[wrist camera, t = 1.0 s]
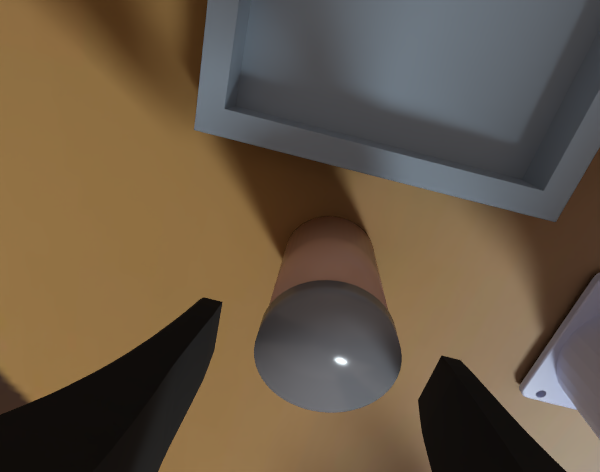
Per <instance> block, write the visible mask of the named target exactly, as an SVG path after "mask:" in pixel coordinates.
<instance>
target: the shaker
mask: <svg viewBox="0 0 600 472" xmlns="http://www.w3.org/2000/svg"><path fill="white" fill-rule="evenodd" d="M254 358H255V363H256V367H257V369H258V372H259V374H260V376H261V378H262V379H263V380H264V382H265V383H266V385H267V386H268V387H269V388H270V389H271V390H272V391H273V392H274V393H276V394H277V395H278V396H280V397H281V398H283V399H284V400H286V401H288V402H289V403H291V404H294V405H296V406H298V407H301V408H304V409H308V410H312V411H318V412H345V411H351V410H355V409H358V408H361V407H364V406H366V405H369V404H371V403H372V402H374V401H376V400H377V399H379V398H380V397H382V396H383V395H384V394H385V393H386V392H387V391H388V390H389V389H390V388H391V386H392V385H393V384H394V382H395V380H396V379H397V377H398V374H399V371H400V367H401V358H402V355H401V348H400V344H399V340H398V336H397V332H396V328H395V325H394V322H393V319H392V317H391V315H390V313H389V311H388V308H387V304H386V300H385V296H384V291H383V287H382V283H381V279H380V275H379V270H378V266H377V262H376V258H375V254H374V249H373V246H372V243H371V241H370V239H369V237H368V236H367V234H366V233H365V232H364V231H363V230H362V229H361V228H360V227H359V226H358V225H356V224H355V223H353V222H351V221H349V220H346V219H343V218H339V217H332V216H327V217H319V218H315V219H312V220H310V221H307V222H305V223H304V224H302V225H301V226H300V227H298V228H297V229H296V230H295V231H294V232H293V234H292V235H291V237H290V238H289V241H288V243H287V246H286V249H285V253H284V256H283V259H282V263H281V266H280V270H279V273H278V277H277V280H276V284H275V287H274V291H273V294H272V298H271V301H270V304H269V307H268V308H267V310H266V312H265V313H264V315H263V318H262V322H261V325H260V328H259V331H258V335H257V338H256V341H255V347H254Z"/></svg>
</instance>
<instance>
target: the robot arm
mask: <svg viewBox="0 0 600 472" xmlns="http://www.w3.org/2000/svg"><path fill="white" fill-rule="evenodd" d="M221 307H222V302H220V301H216V300H212V299H208V298H202V299H200V300H199V301H198V302H196V303H195V304H194V305H193V306H192V307H190V308H189V309H188V310H187V311H186V312H184V313H183V314H182V315H181V316H179V317H178V318H177V319H176V320H174V321H173V322H172V323H170V324H169V325H168V326H166V327H165V328H164V329H162V330H161V331H160V332H158V333H157V334H155V335H154V336H153V337H151V338H150V339H148V340H147V341H145V342H144V343H142V344H141V345H139V346H138V347H136V348H135V349H133V350H132V351H130V352H129V353H127V354H125V355H124V356H122V357H120V358H119V359H117V360H115V361H114V362H112V363H110V364H108V365H107V366H105V367H103V368H101V369H100V370H98V371H96V372H94V373H92V374H90V375H88V376H86V377H84V378H82V379H80V380H78V381H76V382H74V383H72V384H71V385H69V386H66V387H64V388H62V389H60V390H58V391H56V392H54V393H52V394H49V395H47V396H45V397H43V398H40V399H38V400H35V401H33V402H31V403H28V404H26V405H23V406H21V407H19V408H16V409H14V410H11V411H9V412H6V413H4V414H1V415H0V472H158V470H159V468H160V466H161V463H162V461H163V459H164V457H165V455H166V453H167V450H168V448H169V446H170V444H171V442H172V440H173V438H174V436H175V434H176V433H177V431H178V429H179V427H180V425H181V423H182V421H183V419H184V417H185V415H186V413H187V411H188V409H189V407H190V405H191V403H192V401H193V399H194V397H195V395H196V393H197V391H198V389H199V387H200V385H201V383H202V381H203V379H204V376H205V374H206V371H207V368H208V366H209V363H210V360H211V358H212V355H213V352H214V348H215V342H216V337H217V331H218V325H219V319H220V313H221ZM519 390H520V391H521V393H522V394H523V396H525V397H527V398H531V399H535V400H539V401H543V402H547V403H551V404H555V405H559V406H563V407H567V408H572V409H576V410H578V411H579V413H580V414H581V415H582V417H583V418H584V419H585V421H586V422H587V423H588V425H589V426H590V427H591V429H592V430H593V431H594V433H595V434H596V436H597V437H598V438H599V440H600V273H598V274H596V275H595V276H594V277H593V279H592V280H591V282H590V283H589V285H588V286H587V287H586V289H585V290H584V292H583V293H582V295H581V296H580V298H579V299H578V301H577V302H576V304H575V305H574V306H573V308H572V309H571V311H570V312H569V314H568V315H567V317H566V318H565V320H564V321H563V323H562V324H561V325H560V327H559V328H558V330H557V331H556V333H555V334H554V336H553V337H552V339H551V340H550V342H549V343H548V344H547V346H546V347H545V349H544V350H543V352H542V353H541V355H540V356H539V358H538V359H537V361H536V362H535V363H534V365H533V366H532V368H531V369H530V371H529V372H528V374H527V375H526V377H525V378H524V379H523V381H522V382H521V384H520V386H519ZM418 404H419V413H420V421H421V428H422V434H423V438H424V443H425V447H426V451H427V455H428V459H429V462H430V466H431V470H432V472H566V471H565V470H564V469H563V468H562V467H561V466H560V465H559V464H558V463H557V462H556V461H555V460H554V459H553V458H552V457H551V456H550V455H549V454H548V453H547V452H546V451H545V450H544V449H543V448H542V447H541V446H540V445H539V444H538V443H537V442H536V441H535V440H534V439H533V438H532V437H531V436H530V435H529V434H528V433H527V432H526V431H525V430H524V429H523V428H522V427H521V426H520V425H519V424H518V422H517V421H516V420H515V419H514V418H513V417H512V416H511V415H510V414H509V413H508V412H507V410H506V409H505V408H504V407H503V406H502V405H501V404H500V403H499V402H498V401H497V399H496V398H495V397H494V396H493V395H492V394H491V393H490V392H489V391H488V389H487V388H486V387H485V386H484V385H483V384H482V383H481V382H480V381H479V379H478V378H477V377H476V376H475V375H474V374H473V373H472V372H471V371H470V370H469V369H468V368H467V367H466V366H465V365H464V364H463V363H462V362H461V361H460V360H457V359H453V358H449V357H445V356H441V358H440V360H439V362H438V364H437V365H436V367H435V369H434V371H433V373H432V375H431V377H430V379H429V381H428V382H427V384H426V386H425V388H424V390H423V392H422V394H421V396H420V397H419V399H418Z"/></svg>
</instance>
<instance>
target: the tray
mask: <svg viewBox="0 0 600 472" xmlns="http://www.w3.org/2000/svg"><path fill="white" fill-rule="evenodd" d="M194 130H196V131H200V132H204V133H208V134H212V135H216V136H220V137H224V138H228V139H232V140H235V141H239V142H243V143H247V144H251V145H255V146H259V147H263V148H267V149H271V150H275V151H279V152H282V153H286V154H290V155H294V156H298V157H302V158H306V159H310V160H314V161H318V162H322V163H326V164H329V165H333V166H337V167H341V168H345V169H349V170H353V171H357V172H361V173H365V174H369V175H373V176H376V177H380V178H384V179H388V180H392V181H396V182H400V183H404V184H408V185H412V186H416V187H420V188H423V189H427V190H431V191H435V192H439V193H443V194H447V195H451V196H455V197H459V198H463V199H467V200H470V201H474V202H478V203H482V204H486V205H490V206H494V207H498V208H502V209H506V210H510V211H514V212H517V213H521V214H525V215H529V216H533V217H537V218H541V219H545V220H549V221H553V222H556V221H557V219H558V217H559V216H560V214H561V212H562V211H563V209H564V207H565V205H566V204H567V202H568V200H569V199H570V197H571V195H572V193H573V192H574V190H575V188H576V187H577V185H578V183H579V182H580V180H581V178H582V176H583V175H584V173H585V171H586V170H587V168H588V166H589V164H590V163H591V161H592V159H593V158H594V156H595V154H596V153H597V151H598V149H599V147H600V0H208V3H207V13H206V23H205V32H204V42H203V51H202V61H201V70H200V80H199V90H198V99H197V109H196V118H195V128H194Z"/></svg>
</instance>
